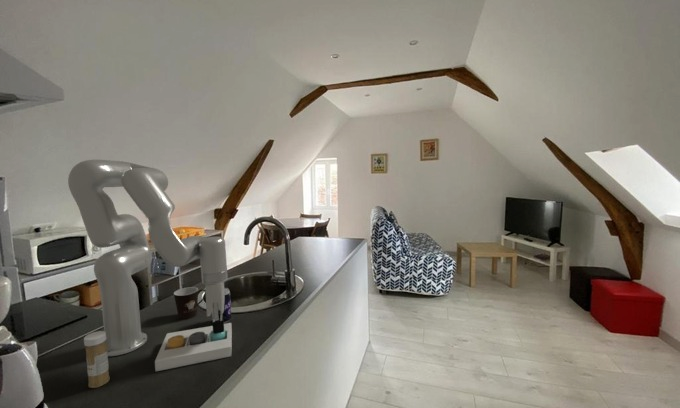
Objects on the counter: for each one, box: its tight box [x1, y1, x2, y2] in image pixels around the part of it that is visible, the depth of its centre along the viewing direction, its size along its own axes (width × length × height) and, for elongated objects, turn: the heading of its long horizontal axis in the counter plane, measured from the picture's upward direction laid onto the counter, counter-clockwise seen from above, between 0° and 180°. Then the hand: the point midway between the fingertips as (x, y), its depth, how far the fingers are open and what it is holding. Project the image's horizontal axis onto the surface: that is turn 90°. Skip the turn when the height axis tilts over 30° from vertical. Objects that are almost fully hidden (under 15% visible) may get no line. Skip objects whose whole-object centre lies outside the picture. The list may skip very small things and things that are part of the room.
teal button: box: [210, 329, 225, 342], centre depth 96 cm, size 4×4×2 cm
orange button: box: [168, 335, 184, 350], centre depth 92 cm, size 4×4×2 cm
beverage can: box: [223, 287, 232, 324], centre depth 112 cm, size 6×6×12 cm
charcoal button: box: [189, 332, 205, 346], centre depth 94 cm, size 4×4×2 cm
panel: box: [154, 322, 233, 372], centre depth 94 cm, size 20×16×3 cm
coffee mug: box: [173, 286, 206, 320], centre depth 118 cm, size 12×9×10 cm
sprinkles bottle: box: [83, 330, 111, 389], centre depth 79 cm, size 5×5×13 cm
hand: (218, 331), depth 96 cm, fingers closed
